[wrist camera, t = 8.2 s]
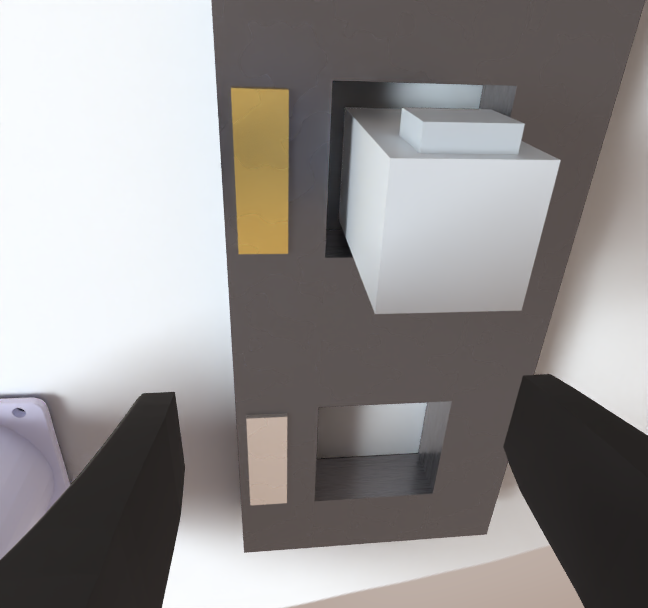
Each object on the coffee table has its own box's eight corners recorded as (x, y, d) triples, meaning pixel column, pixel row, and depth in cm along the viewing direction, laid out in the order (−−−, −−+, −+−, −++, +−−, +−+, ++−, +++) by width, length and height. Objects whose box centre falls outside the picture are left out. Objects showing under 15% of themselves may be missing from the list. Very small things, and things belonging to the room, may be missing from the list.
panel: (245, 508, 27) (244, 556, 24) (215, -56, 15) (207, -68, 12) (468, 493, 28) (487, 537, 26) (603, -33, 16) (661, -41, 14)
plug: (338, 219, 19) (374, 314, 13) (345, 85, 17) (393, 125, 11) (441, 219, 20) (521, 310, 14) (461, 88, 18) (568, 128, 12)
